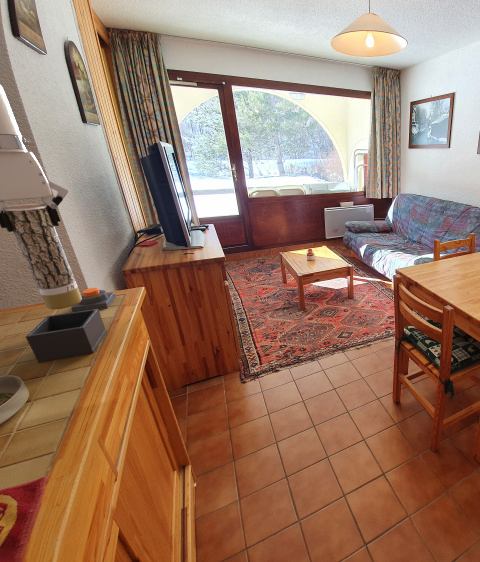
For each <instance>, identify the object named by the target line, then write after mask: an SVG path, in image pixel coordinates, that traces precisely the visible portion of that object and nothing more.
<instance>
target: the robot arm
mask: <svg viewBox="0 0 480 562" xmlns="http://www.w3.org/2000/svg"><path fill="white" fill-rule="evenodd" d="M34 146H35V142H34V140H33V139H31V138H30V139H29V138H25V137H24V136H23V135H22V133H21V131H20V129H19V126H18V123H17V120H16V118H15V116H14V112H13V111H12V107H11V105H10V102H9V99H8V97H7V95H6V92H5V90H4V87H3V86H2V84H1V83H0V229H6V231H7V232H8V233H13V229H12V226H11V224H10V222H9V219H8V217H7V215H6V214H5V213H4V211H3V207H4V203H5V202H8V201H10V202H11V201H21V200H22V201H23V200H35V199H38V200H40V201H41V202H43V204H46V207H47V209H48V211H49V214H50V217H51V219H52V222H53V224H54V227H59V226H60V224H59V222H61V218H60V216H59V213H58V206H59V205H60V204H61V203H62V202H63V200H64V198H66V196H67V194H68V193H69V191H68V189H67V188H64V187H62V186H60V185H58V184H56V183H54V182H52V181H50V180H49V179H47V177H46V175H45V173H44V171H43V168H42V166H41V164H40V163H39V161H38V159H37V158H36V156H35V155H34V153H33V152H32V151H28V150H27V149H28V147H34ZM52 190H55V191H56V195H55V196H54V197H52V199H51V198H50V197H51V196H52V194H53V193H52Z"/></svg>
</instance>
